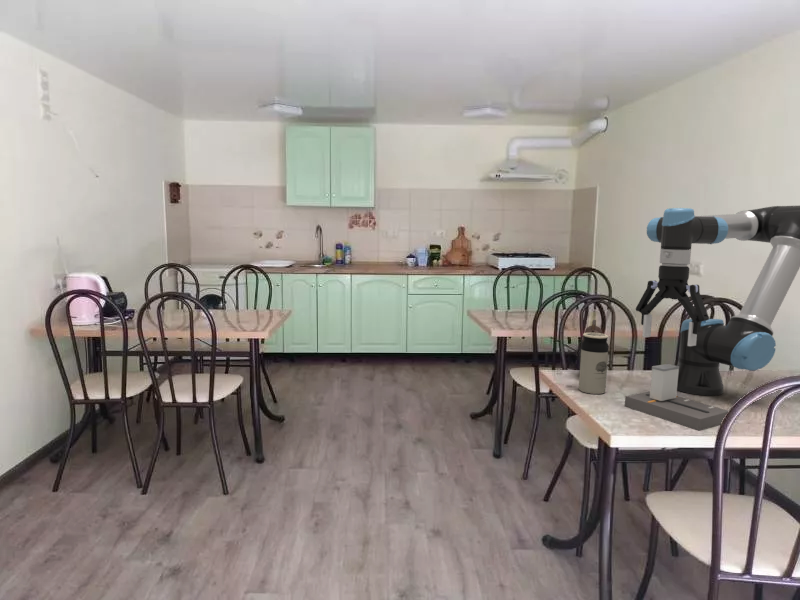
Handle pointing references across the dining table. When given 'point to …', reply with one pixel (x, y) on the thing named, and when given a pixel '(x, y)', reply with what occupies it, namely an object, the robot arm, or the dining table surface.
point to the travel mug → (593, 363)
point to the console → (678, 410)
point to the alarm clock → (591, 331)
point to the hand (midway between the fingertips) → (668, 341)
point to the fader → (664, 382)
